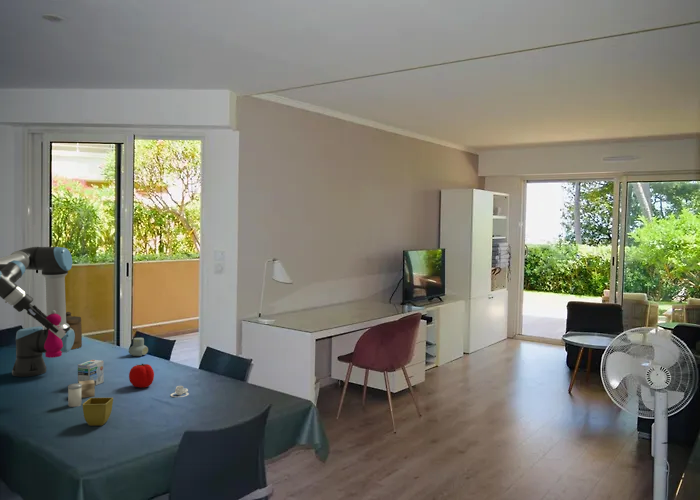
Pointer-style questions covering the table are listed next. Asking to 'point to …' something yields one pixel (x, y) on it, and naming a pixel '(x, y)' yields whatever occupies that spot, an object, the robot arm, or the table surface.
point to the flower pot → (97, 410)
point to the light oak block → (87, 388)
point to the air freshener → (138, 347)
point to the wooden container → (75, 329)
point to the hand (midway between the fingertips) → (63, 335)
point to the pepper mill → (53, 338)
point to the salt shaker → (74, 395)
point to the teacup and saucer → (180, 391)
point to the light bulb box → (91, 371)
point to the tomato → (141, 375)
